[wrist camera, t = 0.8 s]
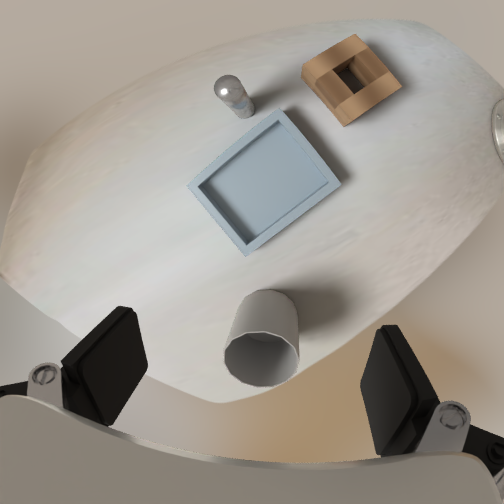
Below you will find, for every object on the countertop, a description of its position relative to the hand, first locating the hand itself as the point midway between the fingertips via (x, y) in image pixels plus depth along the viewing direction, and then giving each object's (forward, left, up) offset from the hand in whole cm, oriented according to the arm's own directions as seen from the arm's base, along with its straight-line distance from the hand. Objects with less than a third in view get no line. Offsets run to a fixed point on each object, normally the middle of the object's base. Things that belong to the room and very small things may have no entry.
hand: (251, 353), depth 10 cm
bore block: (-18, -8, -25) cm, 32 cm away
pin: (-6, -13, -25) cm, 29 cm away
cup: (+9, +10, -25) cm, 29 cm away
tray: (-2, -5, -25) cm, 26 cm away
